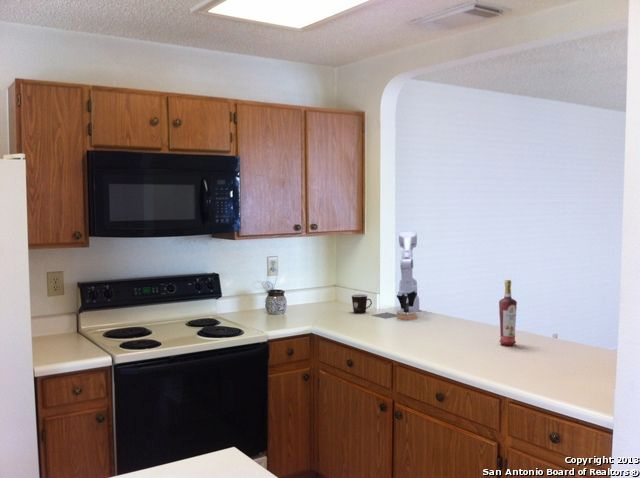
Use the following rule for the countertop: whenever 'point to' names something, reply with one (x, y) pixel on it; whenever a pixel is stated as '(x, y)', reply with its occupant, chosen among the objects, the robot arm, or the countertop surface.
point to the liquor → (507, 317)
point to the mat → (385, 315)
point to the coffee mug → (360, 303)
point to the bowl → (407, 317)
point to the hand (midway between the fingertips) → (407, 307)
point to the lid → (406, 311)
